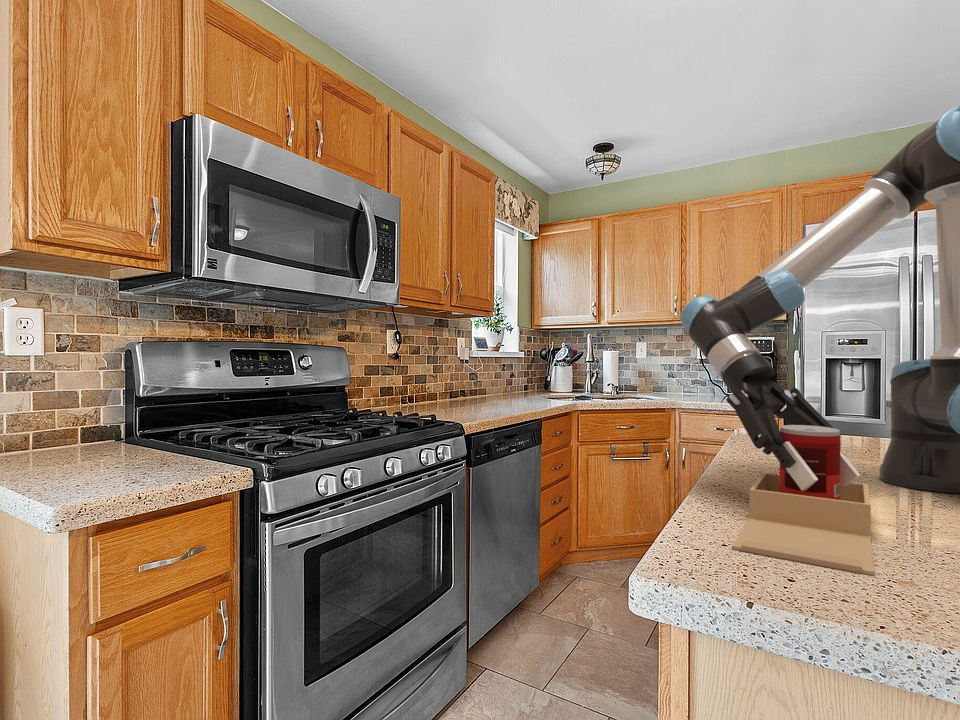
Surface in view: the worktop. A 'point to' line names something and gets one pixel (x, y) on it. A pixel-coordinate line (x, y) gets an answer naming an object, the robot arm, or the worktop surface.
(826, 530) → the mailer box
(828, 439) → the canned food
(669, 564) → the worktop surface
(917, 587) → the worktop surface
